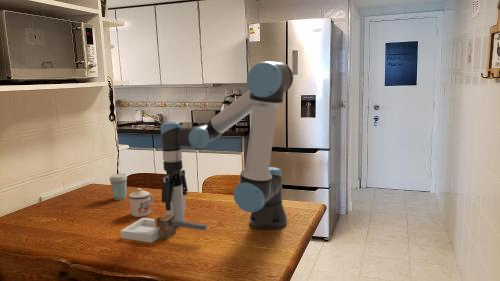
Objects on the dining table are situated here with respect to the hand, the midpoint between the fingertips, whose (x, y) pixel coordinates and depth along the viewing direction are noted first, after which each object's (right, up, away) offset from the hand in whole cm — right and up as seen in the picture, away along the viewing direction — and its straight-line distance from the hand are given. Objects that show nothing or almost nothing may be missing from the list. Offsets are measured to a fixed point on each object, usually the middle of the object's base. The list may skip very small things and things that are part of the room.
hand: (176, 213), depth 160 cm
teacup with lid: (-18, -3, +15) cm, 24 cm away
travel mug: (0, -5, +1) cm, 5 cm away
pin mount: (-1, -6, -11) cm, 13 cm away
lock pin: (+5, -3, -14) cm, 16 cm away
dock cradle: (-10, -6, -8) cm, 14 cm away
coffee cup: (-36, 0, +37) cm, 52 cm away
